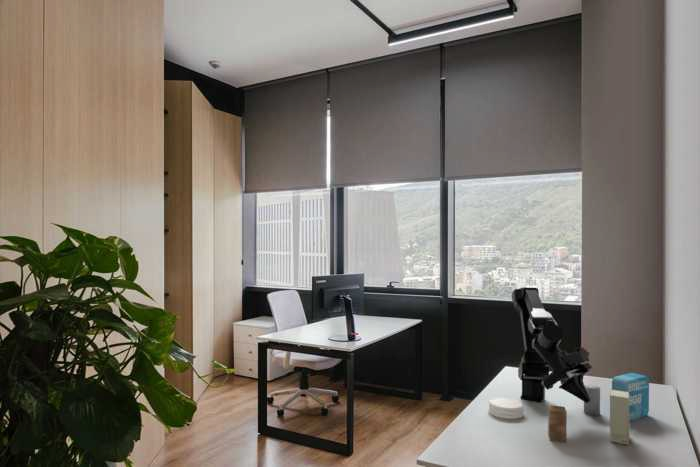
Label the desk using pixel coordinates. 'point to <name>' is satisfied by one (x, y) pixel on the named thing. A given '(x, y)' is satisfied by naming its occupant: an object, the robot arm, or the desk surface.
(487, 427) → the desk surface
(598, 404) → the grey cylinder
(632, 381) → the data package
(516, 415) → the coaster
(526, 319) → the robot arm
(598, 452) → the desk surface
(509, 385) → the desk surface
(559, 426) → the walnut block
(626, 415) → the skincare box
